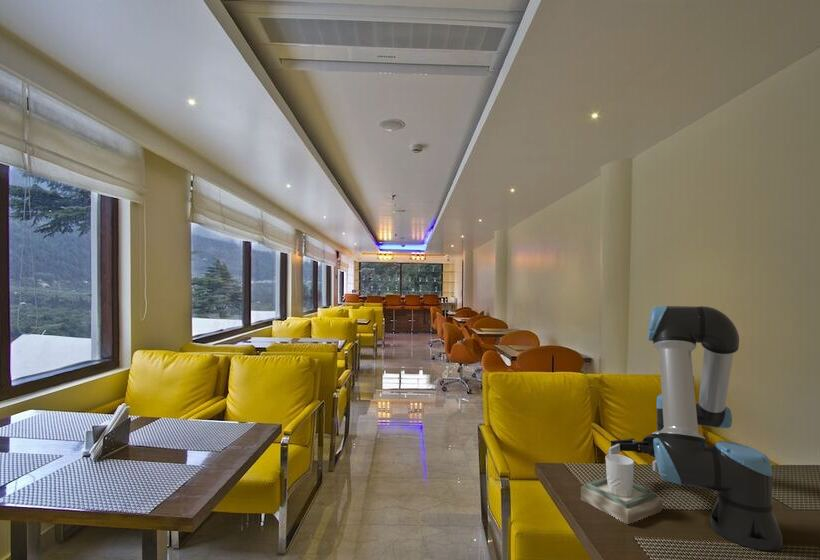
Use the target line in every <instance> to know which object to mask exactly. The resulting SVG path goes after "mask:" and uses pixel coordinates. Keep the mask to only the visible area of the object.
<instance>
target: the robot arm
mask: <svg viewBox="0 0 820 560" xmlns="http://www.w3.org/2000/svg"><path fill="white" fill-rule="evenodd" d="M647 340H648V341H650V342H652V344H653V347H654V348H655V349H656V350H657V351H658V354H659V356H658V357H659V358H658V359H659V370H660V373H659V374H660V386H661V387H660V388H661V393H660V394H659V395H657V396H656V405H655V406H656V431H654V432H651V433H649V434H648V435H646V436H645V437H644V438H643V439H642V440H641V441H636V439H635V438H628V439H617V440H614V439H613V440H611V441H610V447H609V448H608V455H610V454H617V455H619V453H621V452H636V453H639V454H646V455H647V454H648V455H649V456H651V457H652V458H654V460H653V461H652V471H653V472H657V471H658V473H659V476H660V477H661V479H662V480H664V481H665V482H668V483H671V484H678V485H679V486H682V485H683V486H687V487H692V488H697V489H698V488H699V489H705V490H709V491H717V498H716V500H715V504H714V505H713V508H712V511H711V513H710V515H709V516H710V517H709V518H710V527H711V528H712V529H713V531H715V533H717V534H719V536H722V537H723V538H725V539H727V540H728V541H731V542H732V543H735V544H737V545H740V546H744V547H746V548H750V549H754V550H760V551H767V552H768V551H769V552H770V551H772V552H773V551H778V550H781V549H782V548H783V545H784V544H783V541H784V539H783V533H782V530H781V528H780V527H779V524H778V521H777V519H776V517H775V514H774V511H773V510H774V509H773V504H774V503H773V481H772V480H773V470H772V463H771V460H770V458H769V456H767V455H766V454H765V453H763V452H762V451H761V450H760V451H759V450H757V449H755V448H753V447H750V446H748V445H745V444H742V443H738V442H734V441H730V440H717V441H716V443H715V445H714V446H713V445H712V446H711V445H708V444H706V437H704V436H703V434H701V433H700V431H699V426H702V427H708V428H709V427H710V428H717V429H730V428H732V425H733V415H732V410H731V409H730V407H728V406H726V404H727V399H728V398H727V397H728V391H729V386H730V379H731V371H732V366H733V359H734V354H735V353H737V352H738V351H739V348H740V346H739V345H740V334H739V331H738V329H737V327H736V326H735V323H734V322H733V321H732V320H731V318H729V317H728V316H727V315H726V314H725V313H723V312H722V311H720V310H719V309H716V308H714V307H710V306H704V305H703V306H682V305H681V306H678V305H670V306H669V305H661V306H659V305H658V306H653V308H652V309H651V310H650V315H649V322H648V331H647ZM697 344H701V346H702V348H703V349H704V351H703V358H702V368H701V376H700V377H701V378H700V387H699V396H698V403H696V402H697V401H696V395H695V393H696V392H695V383H694V381H695V380H694V371H693V360H692V352H693V351H694V350H695V349H696V348H697Z"/></svg>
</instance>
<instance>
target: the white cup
mask: <svg viewBox="0 0 820 560" xmlns="http://www.w3.org/2000/svg"><path fill="white" fill-rule="evenodd" d="M634 468H635V460H633V459H632V458H630V457H628V456H626V455H622V454H610V455H609V454H607V455H605V471H606V477H607V483H608V491H609V492H611V493H612V494H614V495H617V496H621V497H629V496H631V495H632V488H633V487H632V486H633V483H634V471H635V470H634Z"/></svg>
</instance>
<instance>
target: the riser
mask: <svg viewBox="0 0 820 560" xmlns="http://www.w3.org/2000/svg"><path fill="white" fill-rule="evenodd" d="M632 487H633V488H632V495H631V496H629V497H621V496H617V495H614V494H612V493H611V492H609V491H608V483H607V476H605V477H602V478H598V479H596V480H591V481H589V482H586V483H585V484H584V485H581V486H580V500H581V501H582V502H584V503H587V504H589V505H591V506H593V507H594V508H595V509H598V510H600V511H602V512H603V513H605V514H607V515H608V514H609V516H610V515H611V516H610V517H612V516H613V518H614V517H615V518H614V519H616V520H618V519H619V520H620V521H619V520H618V521H619V522H621V521H622V522H621V523H623V522H624V523H623V524H625V523H627V524H630V523H632V524H634V523H633V522H635V523H637V522H639V521H638V520H640V521H642V520H644V519H643V518H645V519H646V517H647V518H649V517H648V516H650V517H652V516H654V515H656V513H657V514H659V513H662V512H663V497H661V496H659V495H657V492H655V491H652V490H651V489H648V488H646V487H644V486H642V485H639V484H637V483H634V482H633V486H632ZM661 511H662V512H661ZM651 515H652V516H651ZM641 519H642V520H641ZM636 521H637V522H636ZM627 524H626V525H627ZM630 525H631V524H630Z"/></svg>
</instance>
